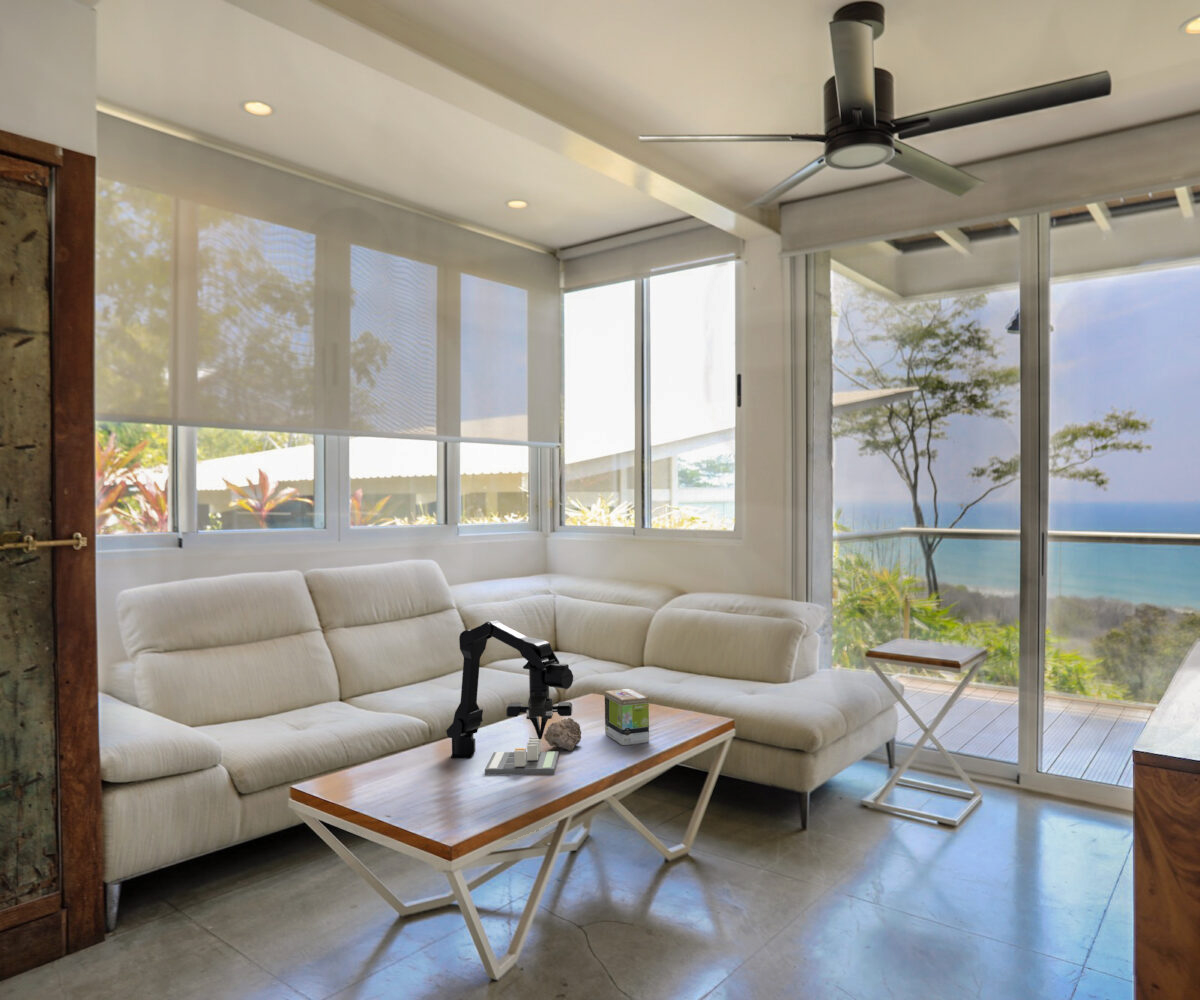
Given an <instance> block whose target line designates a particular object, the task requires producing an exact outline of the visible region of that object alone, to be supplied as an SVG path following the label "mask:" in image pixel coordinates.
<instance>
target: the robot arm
mask: <svg viewBox="0 0 1200 1000" xmlns="http://www.w3.org/2000/svg"><path fill="white" fill-rule="evenodd" d="M491 638H494V639H496V640H497V641H500V642H502V643H504V644H506V645H507V646H509V647H511V648H513V649H515V650H517V651H518V652H519V653H520V655H521V657H522V658H523V659H525V660H526V661H527V663H525V664H524V665H523V666H522V669H524V670H528V674H529V675H528V680H529V681H528V682H529V696H528V697H529V698H528V701H527V703H528V704H527V705H523V702H509V703H508V704H507V707H506V717H509V718H511V717H512V718H513V717H514V718H515V717H518V716H519V715H520V714H522V713H526V720H530V721H531V723H532V726H533V727H534V729H535V732H536V735H537V736H536V737H538V739H540V740H542V738H543V737H544V733H545V732H544V731H545V728H546V725H547V723H548V720H552V718H553V716H554V713H557V714H558V716H559V717H571V716H572V714H573V703H572V702H571V701H559V702H558V704H557V705H554V703H553V702H554V701H553V698H550V688H554V689H556V688H557V689H563V690H569V689H570V688H571V687H572V684H573V682H574V675H573V672H572V670H571V669H570V668H569V667H570V666H569V664H566V663H565V664H564V663H562V664H560V661H559V659H558V657H557V656H556V653H555V652H554V650H553V649H552V646H551V645H552V644H550V642H549V641H547V640H544V639H541V638H535V637H529V636H526V635H525V634H522V632H521V633H520V632H519V631H517V630H514V629H513V628H511V627H509V626H507V625H505V624H503V623H501V621H499V620H496V619H495V620H488V621H486V622H484V623H483V624H481V625H478V626H477V627H474V628H470V629H465V630H463V631H462V632H460V633H459V650H460V653H461V654H462V656H463V664H462V665H463V666H462V677H461V679H462V680H461V693H460V702H459V704H458V706H457V708H456V709H455V711H454V715H453V719H452V723H451V725H450V726H449V727H448V728H447V729H446V731H445V733H446V735H447V738H449V739H451V755H450V758H451V759H453V758H454V759H457V758H459V759H460V758H461V759H462V758H463V759H464V758H465V759H466V758H467V759H469V758H473V756H474V754H475V753H476V738H475V737H474V734H477V733H478V731H479V727H480V726H481V724H482V723H483V713H484V709H482V708H480V707H479V705H478V703H477V700H478V691H479V690H478V689H479V678H480V677H479V676H480V675H479V674H480V665H481V663H480V662H481V658H482V655H483V653H484V651H485V650H486V648H487V643H488V640H490V639H491ZM540 718H541V719H540Z"/></svg>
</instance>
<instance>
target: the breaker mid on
mask: <svg viewBox="0 0 1200 1000" xmlns="http://www.w3.org/2000/svg"><path fill="white" fill-rule="evenodd" d="M526 752H527V760H538V742H529V741H528V742H527V744H526Z"/></svg>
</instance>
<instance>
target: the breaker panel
mask: <svg viewBox="0 0 1200 1000" xmlns="http://www.w3.org/2000/svg"><path fill="white" fill-rule="evenodd" d="M559 754H560V753H559V751H540V754H538V760H527V751H526V765H525V766H516V767H515V759H514V751H499V752H498V751H496V752H494V751H493V753H492V754H491V757H490V759H489V761H488V762H487V765H486V766H485V768H484V775H486V776H487V775H490V776H491V775H551V774H552V775H553V774H554V775H555V771H556V768H557V765H558V760H559V756H560V755H559Z"/></svg>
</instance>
